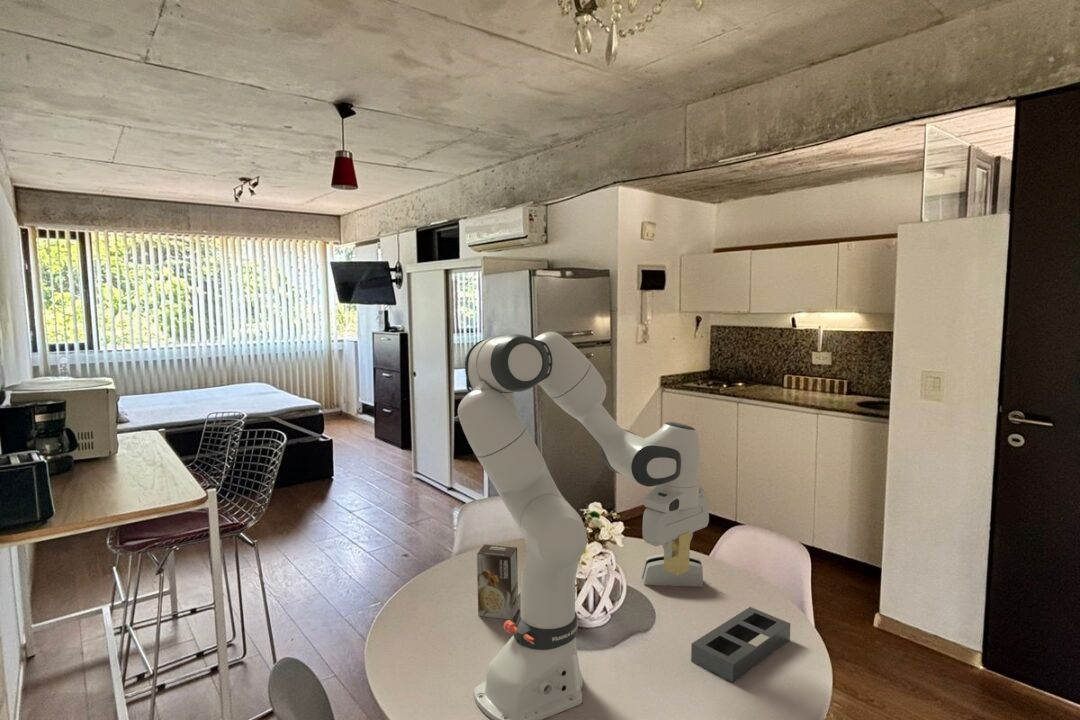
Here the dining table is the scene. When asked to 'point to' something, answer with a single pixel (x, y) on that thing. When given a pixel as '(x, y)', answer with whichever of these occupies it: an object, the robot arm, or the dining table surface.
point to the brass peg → (679, 555)
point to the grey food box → (497, 581)
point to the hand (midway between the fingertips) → (676, 554)
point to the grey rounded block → (659, 576)
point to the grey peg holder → (740, 643)
